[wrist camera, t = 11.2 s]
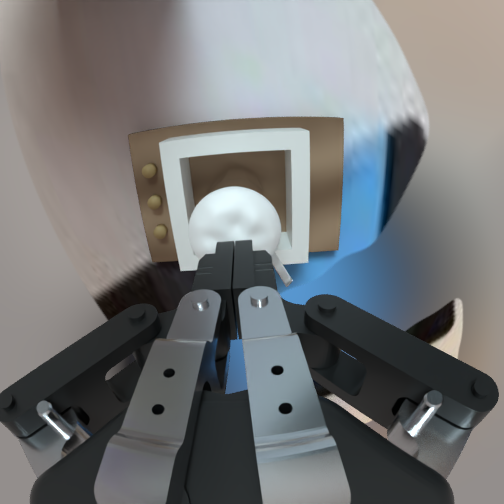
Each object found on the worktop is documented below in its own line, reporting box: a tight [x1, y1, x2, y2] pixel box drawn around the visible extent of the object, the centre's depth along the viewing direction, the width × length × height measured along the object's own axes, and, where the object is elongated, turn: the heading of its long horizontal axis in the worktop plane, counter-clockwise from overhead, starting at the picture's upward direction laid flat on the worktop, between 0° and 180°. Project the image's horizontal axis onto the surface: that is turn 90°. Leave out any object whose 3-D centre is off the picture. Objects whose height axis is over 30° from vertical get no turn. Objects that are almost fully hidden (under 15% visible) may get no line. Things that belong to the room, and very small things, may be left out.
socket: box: [159, 128, 310, 271], centre depth 20 cm, size 9×9×3 cm
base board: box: [128, 117, 344, 262], centre depth 21 cm, size 11×16×2 cm
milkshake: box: [189, 168, 292, 287], centre depth 17 cm, size 5×5×10 cm
